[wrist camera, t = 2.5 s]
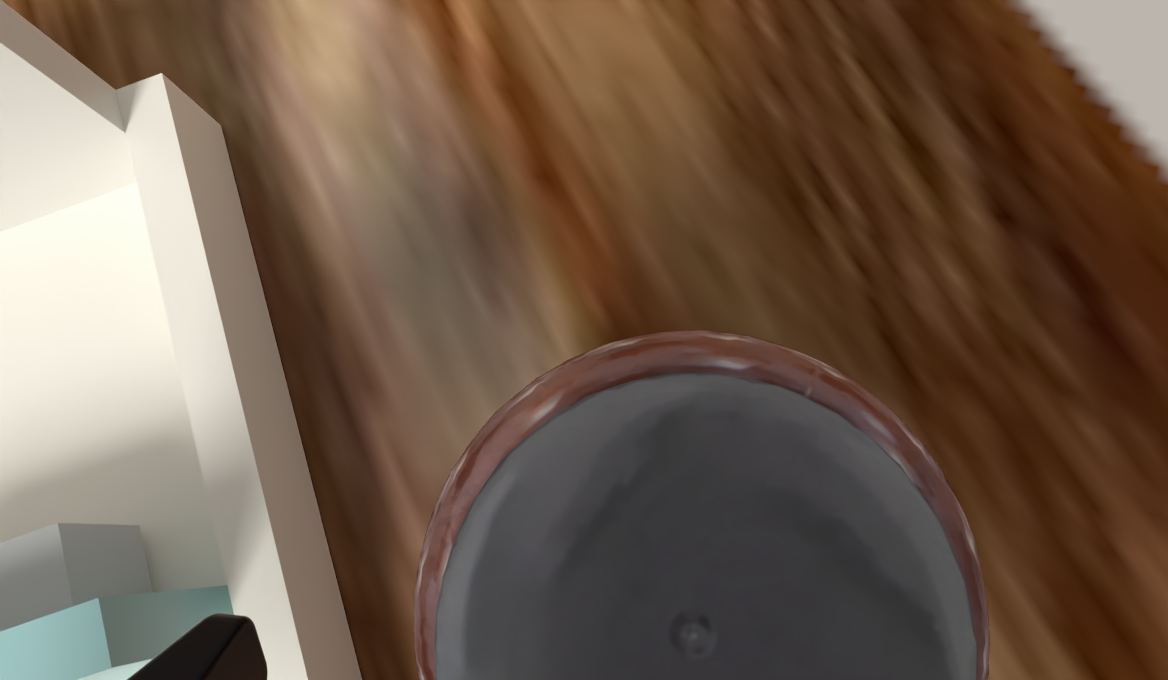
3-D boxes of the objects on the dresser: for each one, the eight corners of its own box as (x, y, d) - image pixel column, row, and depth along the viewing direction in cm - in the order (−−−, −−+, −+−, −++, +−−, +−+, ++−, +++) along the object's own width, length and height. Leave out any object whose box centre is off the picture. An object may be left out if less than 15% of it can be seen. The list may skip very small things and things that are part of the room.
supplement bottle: (488, 671, 18) (159, 888, 7) (592, 380, 19) (454, 148, 8) (793, 794, 17) (999, 1289, 6) (885, 479, 18) (1216, 376, 7)
